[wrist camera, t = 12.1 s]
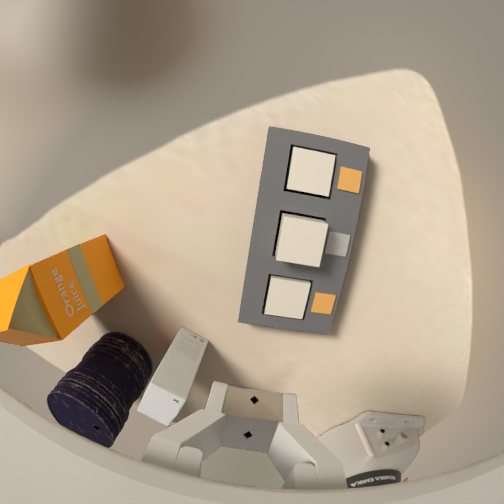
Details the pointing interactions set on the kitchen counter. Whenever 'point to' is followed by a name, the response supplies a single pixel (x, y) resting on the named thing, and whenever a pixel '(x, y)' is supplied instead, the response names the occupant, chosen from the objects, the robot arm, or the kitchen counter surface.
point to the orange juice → (57, 293)
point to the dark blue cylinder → (102, 388)
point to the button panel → (329, 208)
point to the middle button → (301, 240)
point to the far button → (286, 296)
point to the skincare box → (173, 378)
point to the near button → (310, 171)
